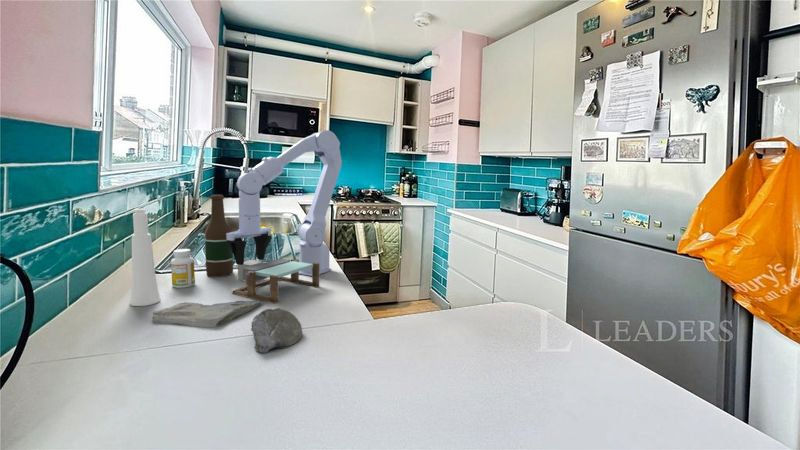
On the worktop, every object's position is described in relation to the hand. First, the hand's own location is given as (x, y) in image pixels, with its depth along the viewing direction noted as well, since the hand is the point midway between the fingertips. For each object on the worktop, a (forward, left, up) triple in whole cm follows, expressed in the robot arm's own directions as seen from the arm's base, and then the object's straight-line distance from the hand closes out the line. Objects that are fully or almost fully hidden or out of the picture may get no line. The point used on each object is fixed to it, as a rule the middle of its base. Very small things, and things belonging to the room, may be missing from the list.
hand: (250, 261), depth 111 cm
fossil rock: (+24, +13, -6) cm, 28 cm away
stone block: (0, 0, -5) cm, 5 cm away
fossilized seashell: (+27, +35, -6) cm, 45 cm away
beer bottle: (+1, -12, -5) cm, 13 cm away
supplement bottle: (+14, -10, -5) cm, 18 cm away
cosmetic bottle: (+27, -5, -5) cm, 28 cm away
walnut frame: (+4, +14, -5) cm, 16 cm away
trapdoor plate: (+4, +14, -2) cm, 15 cm away
